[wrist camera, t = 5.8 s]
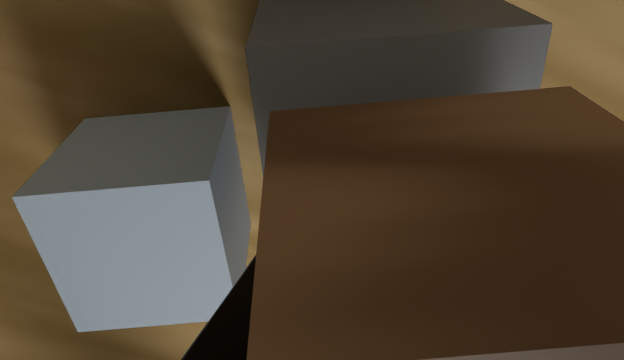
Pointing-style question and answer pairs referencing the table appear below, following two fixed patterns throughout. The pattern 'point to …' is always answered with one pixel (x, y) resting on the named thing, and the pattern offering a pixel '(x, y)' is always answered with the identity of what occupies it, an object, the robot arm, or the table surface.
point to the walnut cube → (442, 231)
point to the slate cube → (141, 218)
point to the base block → (388, 52)
